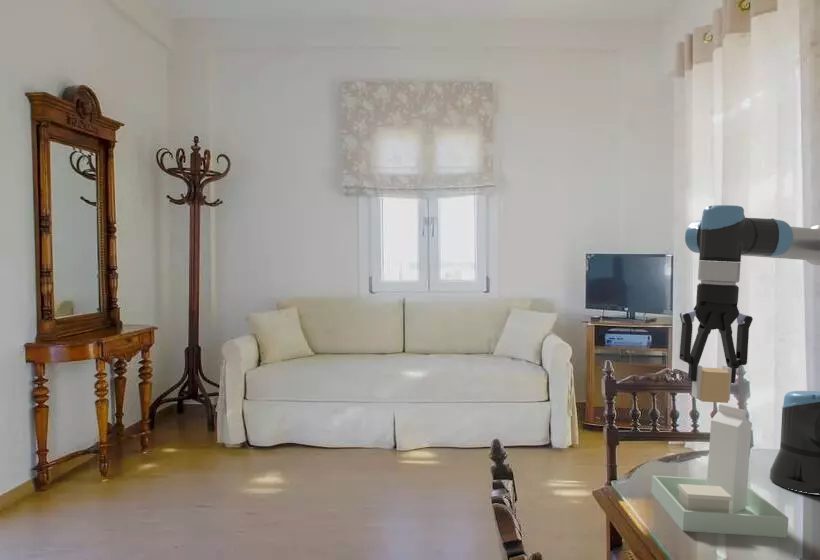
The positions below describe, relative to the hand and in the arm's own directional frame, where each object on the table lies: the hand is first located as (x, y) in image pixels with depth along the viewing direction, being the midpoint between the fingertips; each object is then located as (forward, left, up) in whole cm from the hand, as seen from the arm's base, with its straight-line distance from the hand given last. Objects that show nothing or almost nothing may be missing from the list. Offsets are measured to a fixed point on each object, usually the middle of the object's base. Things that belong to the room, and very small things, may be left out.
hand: (710, 397), depth 130 cm
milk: (-9, -10, -26) cm, 29 cm away
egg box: (0, 0, -26) cm, 26 cm away
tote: (-5, -6, -26) cm, 27 cm away
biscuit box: (0, 0, 0) cm, 0 cm away
